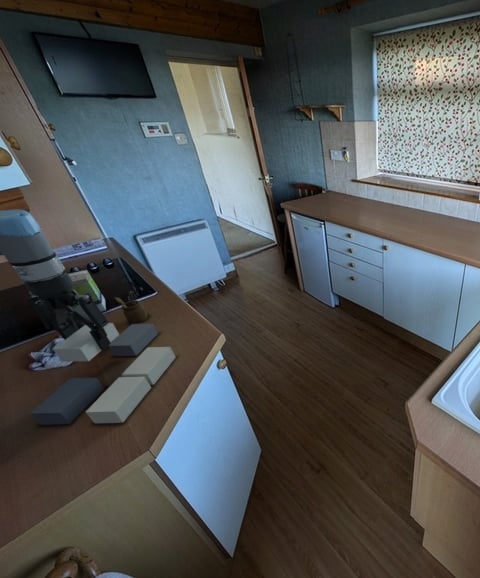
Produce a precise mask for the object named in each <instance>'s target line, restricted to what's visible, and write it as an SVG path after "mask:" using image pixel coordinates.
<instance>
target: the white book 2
mask: <svg viewBox="0 0 480 578" xmlns="http://www.w3.org/2000/svg"><path fill="white" fill-rule="evenodd" d="M151 389H152V385H149V383H148V381H147V380H146V378H145V377H123V376H121V377H120V376H118V377H117V378H116V380H115V381H114V382H113V383H112V384H110V386H109V387H108V388H107V389H106V390H105V391H104V392H103V393H102V394H101V395H100V396H99V397H98V399H97V400H96V401H95V402H94V403H92V405H91V406H90V407H88V409H87V410H85V414H86V415H87V416H88V418H90V420H91V421H92V423H94V424H123V423H124V422H125V421H126V420H127V418H128V417H129V416H130V415H131V414H132V413H133V411H134V410H135V408H136V407H137V406H138V405H139V404H140V402H141V401H142V400H143V399H144V398H145V396H146V395H147V394H148V392H149V391H150V390H151Z"/></svg>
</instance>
